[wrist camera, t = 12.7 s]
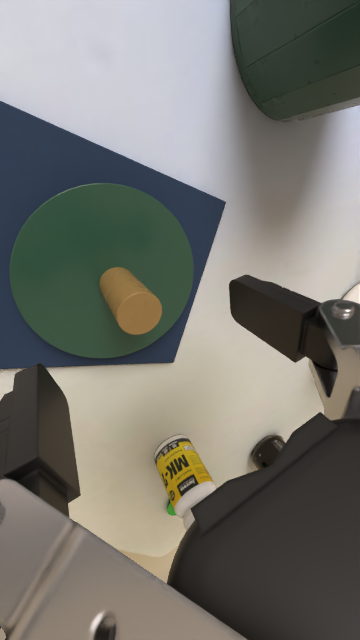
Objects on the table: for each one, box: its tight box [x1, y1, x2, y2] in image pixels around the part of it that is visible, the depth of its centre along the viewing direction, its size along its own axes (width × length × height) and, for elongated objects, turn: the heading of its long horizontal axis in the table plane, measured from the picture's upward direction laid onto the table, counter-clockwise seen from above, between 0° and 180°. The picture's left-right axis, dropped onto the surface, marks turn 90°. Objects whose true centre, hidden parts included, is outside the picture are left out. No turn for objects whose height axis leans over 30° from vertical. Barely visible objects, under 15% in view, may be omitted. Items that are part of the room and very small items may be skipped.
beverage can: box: [252, 435, 286, 470], centre depth 37 cm, size 7×7×12 cm
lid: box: [9, 183, 194, 358], centre depth 14 cm, size 11×11×6 cm
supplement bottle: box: [154, 435, 216, 530], centre depth 25 cm, size 5×5×8 cm
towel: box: [0, 101, 226, 369], centre depth 16 cm, size 14×14×1 cm
